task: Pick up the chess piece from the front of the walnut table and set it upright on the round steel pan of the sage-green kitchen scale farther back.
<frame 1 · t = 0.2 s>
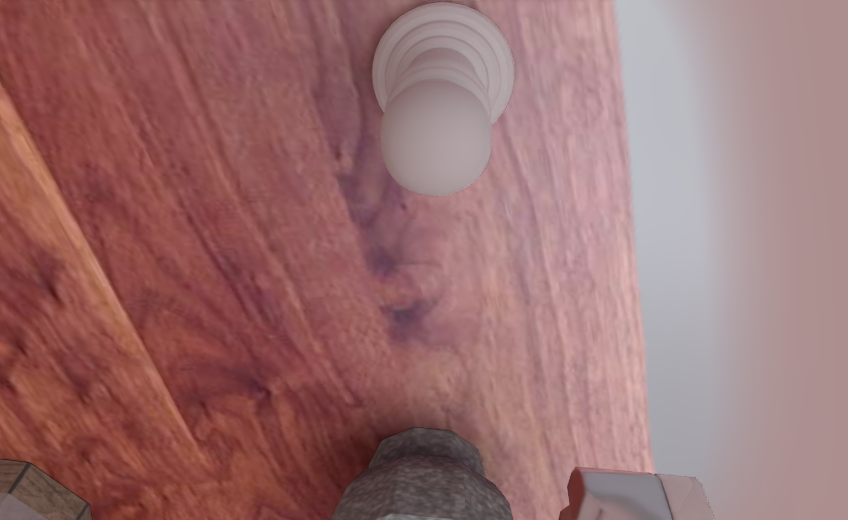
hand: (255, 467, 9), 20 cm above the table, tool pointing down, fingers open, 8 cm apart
chess piece: (443, 71, 27), on the table
mortar and pestle: (422, 474, 38), on the table
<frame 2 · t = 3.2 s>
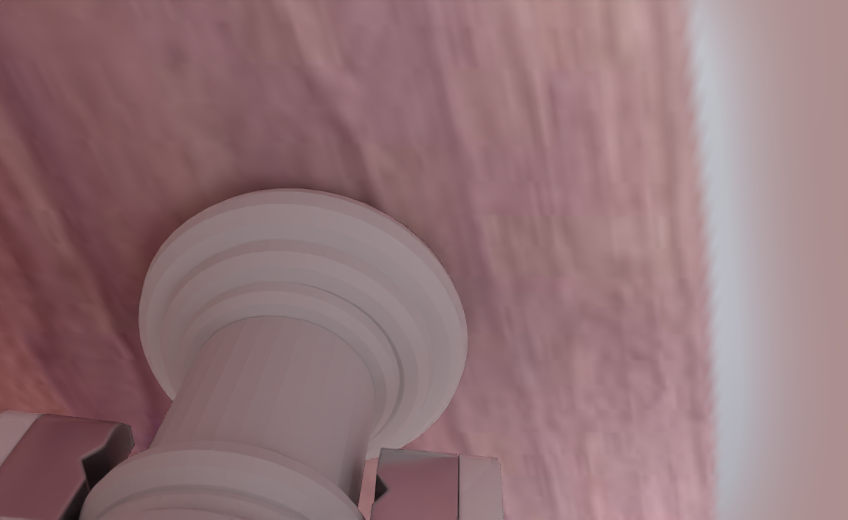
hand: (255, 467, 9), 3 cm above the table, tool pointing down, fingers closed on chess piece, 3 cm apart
chess piece: (312, 314, 12), on the table, touching gripper
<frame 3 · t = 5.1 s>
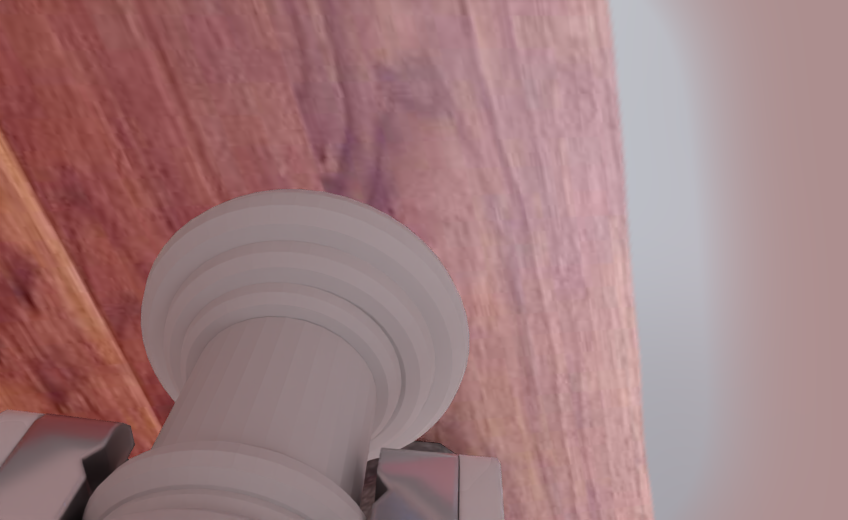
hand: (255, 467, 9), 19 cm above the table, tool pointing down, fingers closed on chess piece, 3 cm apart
chess piece: (314, 314, 12), point 16 cm above the table, touching gripper
mortar and pestle: (410, 488, 37), on the table
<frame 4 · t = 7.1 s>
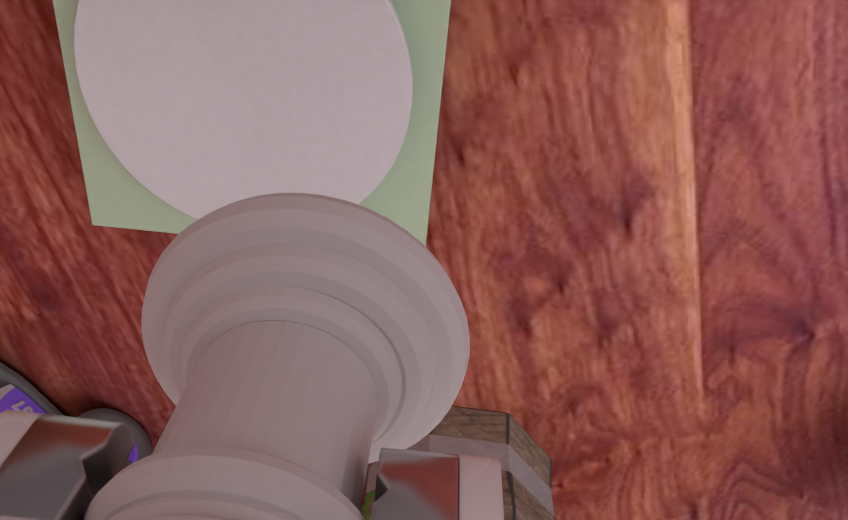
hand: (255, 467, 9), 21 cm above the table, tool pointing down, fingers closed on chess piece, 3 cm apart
mug: (434, 496, 41), on the table
chess piece: (314, 318, 12), point 18 cm above the table, touching gripper
toy race car: (7, 403, 38), on the table
scale: (267, 46, 28), on the table
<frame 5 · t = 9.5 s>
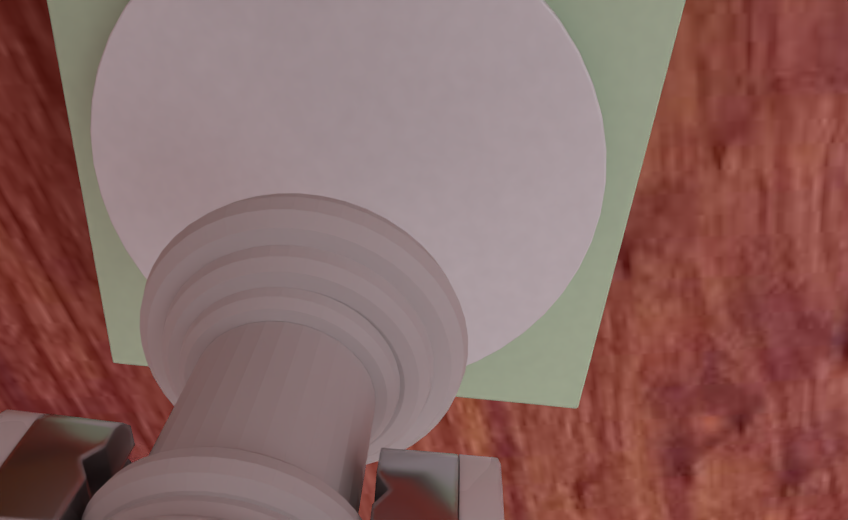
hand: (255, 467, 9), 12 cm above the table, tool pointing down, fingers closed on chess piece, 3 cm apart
chess piece: (313, 318, 12), point 9 cm above the table, touching gripper
scale: (366, 118, 19), on the table
when the fingers open (7 cm above the table, at t = 11.1 s): chess piece stays where it is, resting on scale.
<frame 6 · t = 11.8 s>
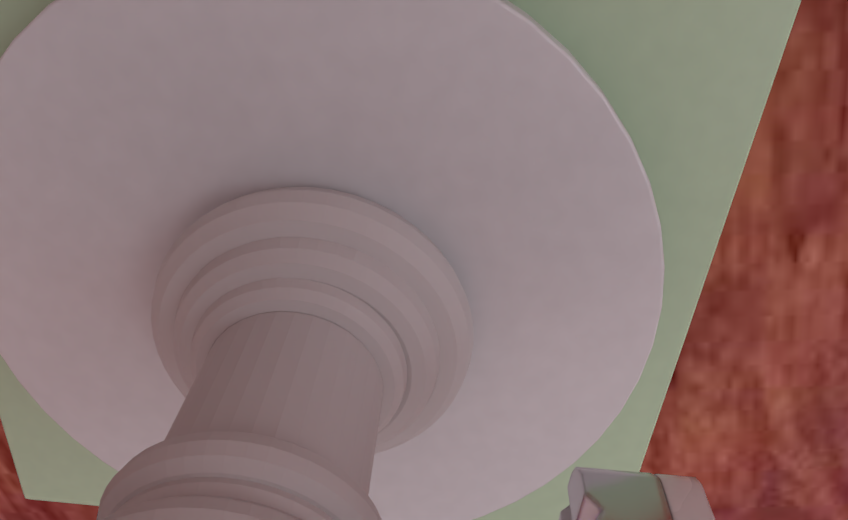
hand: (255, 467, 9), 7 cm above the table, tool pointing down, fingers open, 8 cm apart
chess piece: (321, 310, 12), point 3 cm above the table, touching scale
scale: (340, 198, 15), on the table
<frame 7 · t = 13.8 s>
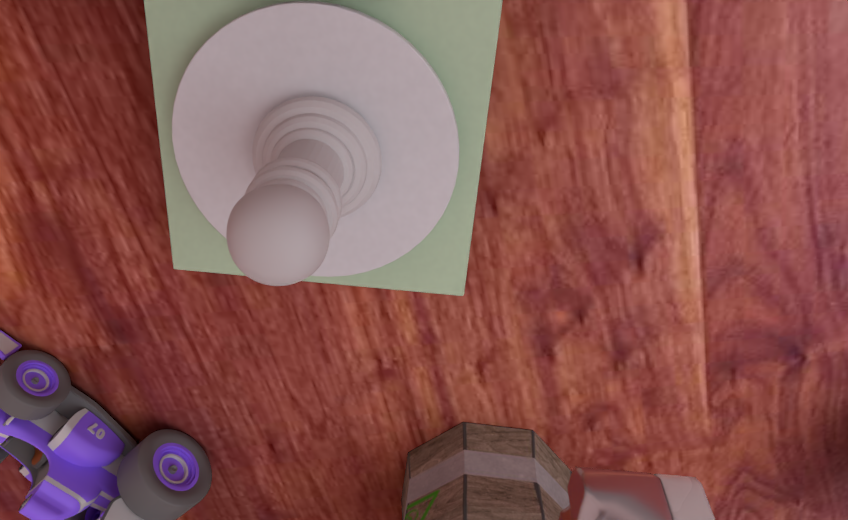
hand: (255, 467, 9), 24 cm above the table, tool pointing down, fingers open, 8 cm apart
mug: (464, 506, 44), on the table
chess piece: (320, 154, 29), point 3 cm above the table, touching scale
toy race car: (78, 425, 42), on the table
scale: (329, 115, 32), on the table
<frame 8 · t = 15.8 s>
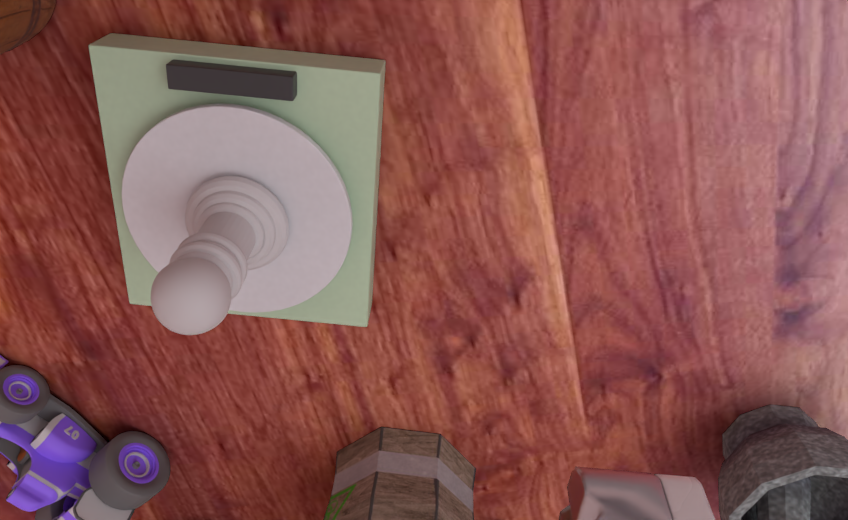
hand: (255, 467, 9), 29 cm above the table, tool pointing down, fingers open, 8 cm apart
mug: (388, 497, 52), on the table
chess piece: (241, 218, 37), point 3 cm above the table, touching scale
toy race car: (58, 427, 50), on the table
mortar and pestle: (761, 443, 47), on the table
scale: (254, 181, 39), on the table
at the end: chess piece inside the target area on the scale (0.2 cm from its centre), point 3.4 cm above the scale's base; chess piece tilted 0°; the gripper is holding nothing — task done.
